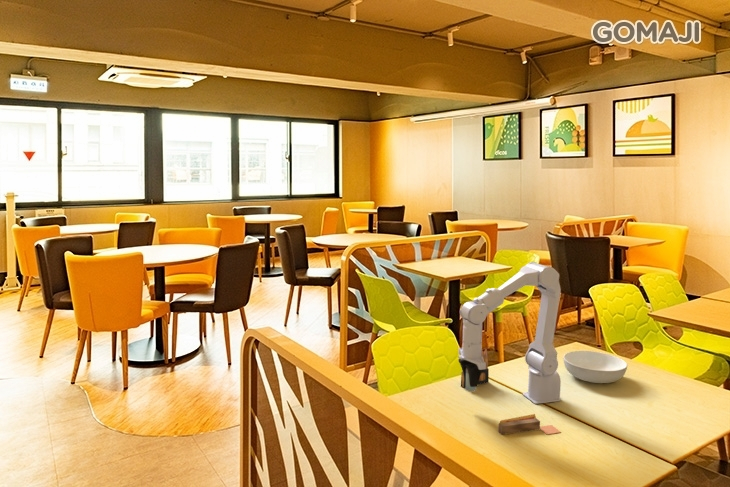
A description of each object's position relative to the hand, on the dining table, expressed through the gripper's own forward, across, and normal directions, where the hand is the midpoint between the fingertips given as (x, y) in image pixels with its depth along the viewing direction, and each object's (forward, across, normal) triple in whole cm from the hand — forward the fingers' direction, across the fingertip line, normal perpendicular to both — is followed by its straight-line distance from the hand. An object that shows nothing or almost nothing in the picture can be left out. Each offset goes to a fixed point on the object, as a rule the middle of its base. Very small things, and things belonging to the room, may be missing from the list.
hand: (471, 383), depth 175 cm
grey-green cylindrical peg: (+2, 0, 0) cm, 2 cm away
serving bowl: (+8, -11, +53) cm, 55 cm away
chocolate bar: (+9, +13, +9) cm, 18 cm away
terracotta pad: (+8, +19, +15) cm, 26 cm away
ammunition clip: (+8, -17, +10) cm, 21 cm away
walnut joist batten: (+8, +17, +7) cm, 20 cm away
